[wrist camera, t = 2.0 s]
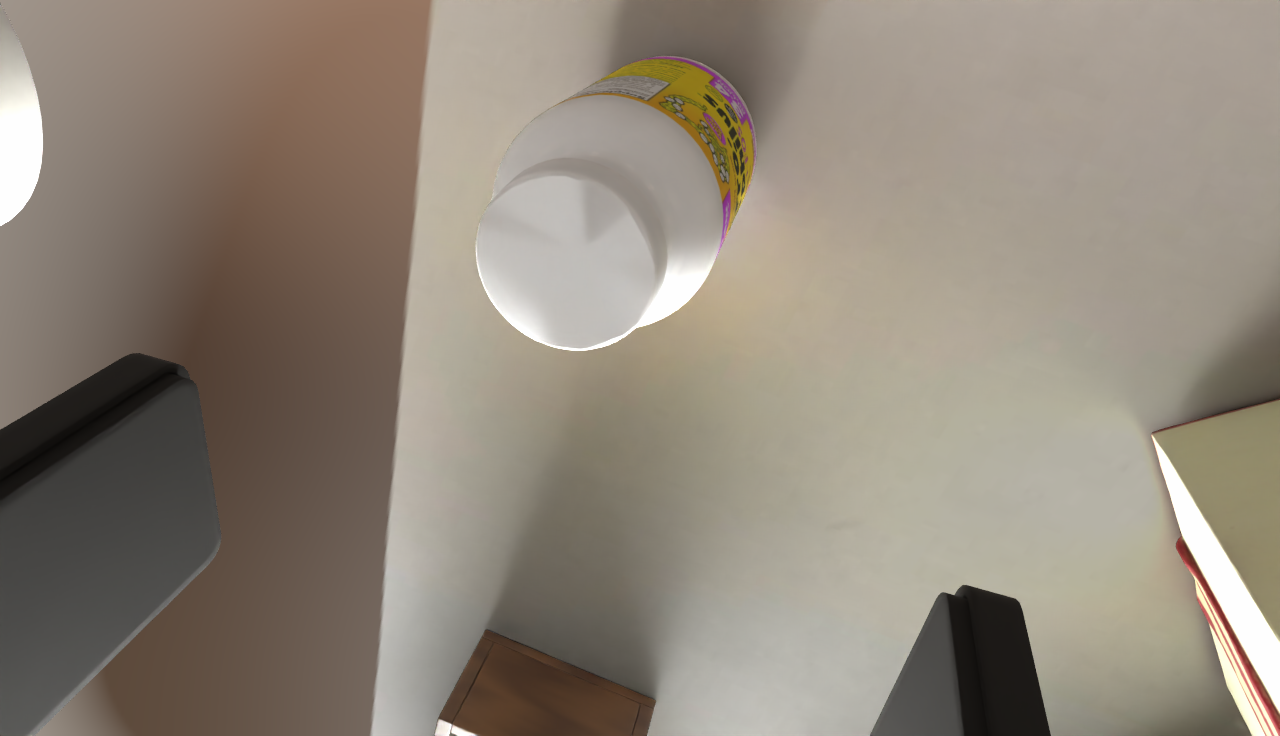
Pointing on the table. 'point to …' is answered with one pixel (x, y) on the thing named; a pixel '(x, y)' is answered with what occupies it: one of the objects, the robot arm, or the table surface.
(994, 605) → the robot arm
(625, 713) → the wooden divided tray
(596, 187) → the supplement bottle
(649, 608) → the table surface
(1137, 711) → the table surface
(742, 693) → the table surface
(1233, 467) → the gift box
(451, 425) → the table surface
